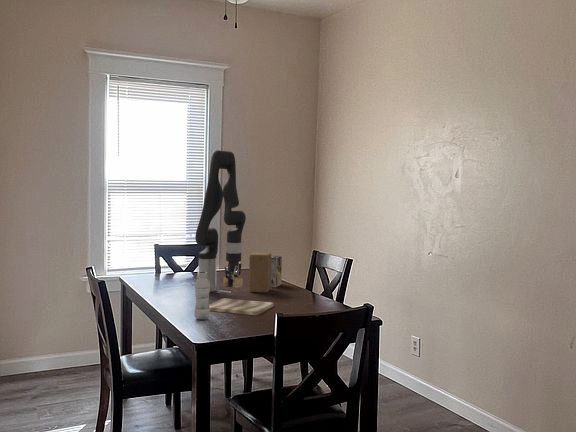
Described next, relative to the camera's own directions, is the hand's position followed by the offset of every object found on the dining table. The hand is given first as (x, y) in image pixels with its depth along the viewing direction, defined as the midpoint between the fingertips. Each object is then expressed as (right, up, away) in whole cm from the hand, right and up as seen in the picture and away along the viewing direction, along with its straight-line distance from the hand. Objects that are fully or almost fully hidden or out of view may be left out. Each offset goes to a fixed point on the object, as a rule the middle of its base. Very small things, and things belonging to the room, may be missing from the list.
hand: (232, 285), depth 287 cm
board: (+5, -8, -18) cm, 21 cm away
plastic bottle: (-9, -10, -40) cm, 42 cm away
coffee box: (+19, -5, +36) cm, 41 cm away
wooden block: (+12, -6, +22) cm, 26 cm away
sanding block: (0, -1, 0) cm, 1 cm away
